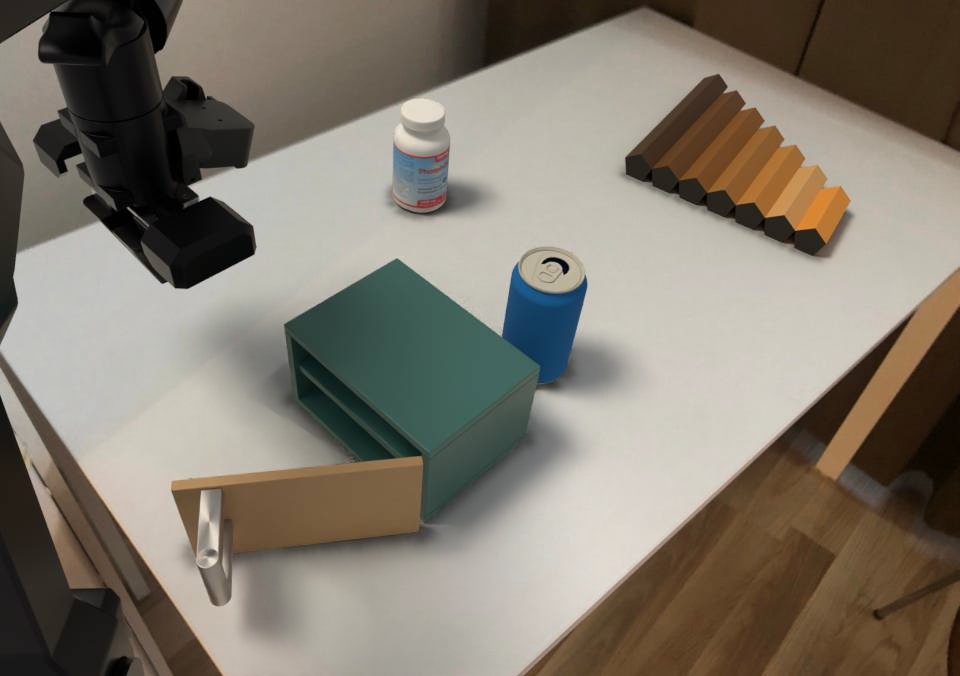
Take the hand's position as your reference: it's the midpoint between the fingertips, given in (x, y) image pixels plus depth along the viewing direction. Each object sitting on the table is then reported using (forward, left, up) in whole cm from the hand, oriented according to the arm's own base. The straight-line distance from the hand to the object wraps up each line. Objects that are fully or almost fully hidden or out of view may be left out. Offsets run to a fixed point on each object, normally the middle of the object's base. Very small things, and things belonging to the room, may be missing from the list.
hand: (165, 279), depth 61 cm
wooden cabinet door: (-4, -22, -12) cm, 25 cm away
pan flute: (+70, -16, -12) cm, 73 cm away
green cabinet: (+11, -16, -12) cm, 23 cm away
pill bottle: (+33, +6, -12) cm, 36 cm away
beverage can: (+24, -19, -12) cm, 33 cm away
